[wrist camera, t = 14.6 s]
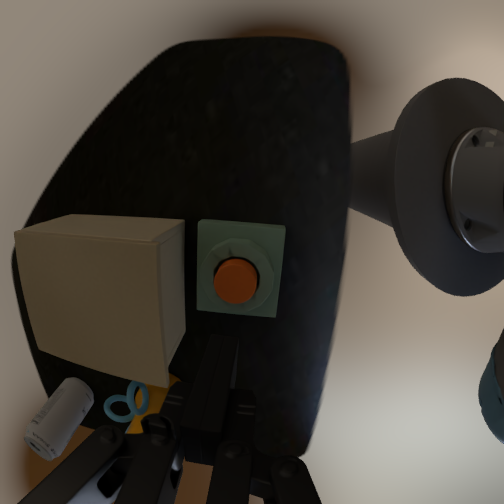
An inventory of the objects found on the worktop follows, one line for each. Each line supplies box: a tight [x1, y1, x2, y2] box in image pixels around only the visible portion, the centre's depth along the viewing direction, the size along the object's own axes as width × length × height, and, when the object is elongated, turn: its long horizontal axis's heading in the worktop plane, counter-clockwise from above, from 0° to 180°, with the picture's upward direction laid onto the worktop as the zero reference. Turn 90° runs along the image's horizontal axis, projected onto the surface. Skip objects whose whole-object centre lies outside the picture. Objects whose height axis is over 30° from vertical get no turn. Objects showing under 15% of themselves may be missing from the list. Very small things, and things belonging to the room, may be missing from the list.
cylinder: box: [104, 373, 181, 434], centre depth 26 cm, size 12×10×15 cm
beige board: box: [14, 230, 170, 388], centre depth 20 cm, size 15×13×1 cm
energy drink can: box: [24, 377, 94, 461], centre depth 28 cm, size 6×6×15 cm
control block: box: [197, 219, 286, 317], centre depth 27 cm, size 8×9×4 cm
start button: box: [214, 258, 257, 304], centre depth 24 cm, size 4×4×2 cm
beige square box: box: [21, 214, 186, 366], centre depth 25 cm, size 15×13×9 cm
